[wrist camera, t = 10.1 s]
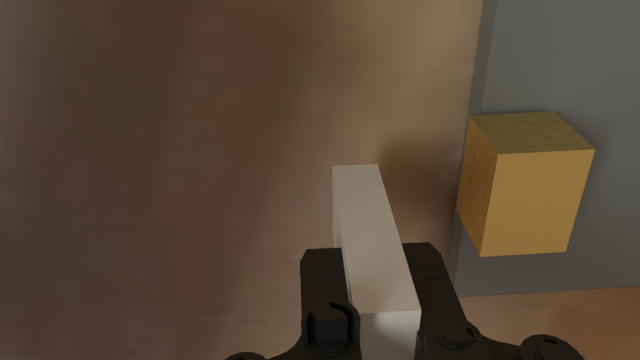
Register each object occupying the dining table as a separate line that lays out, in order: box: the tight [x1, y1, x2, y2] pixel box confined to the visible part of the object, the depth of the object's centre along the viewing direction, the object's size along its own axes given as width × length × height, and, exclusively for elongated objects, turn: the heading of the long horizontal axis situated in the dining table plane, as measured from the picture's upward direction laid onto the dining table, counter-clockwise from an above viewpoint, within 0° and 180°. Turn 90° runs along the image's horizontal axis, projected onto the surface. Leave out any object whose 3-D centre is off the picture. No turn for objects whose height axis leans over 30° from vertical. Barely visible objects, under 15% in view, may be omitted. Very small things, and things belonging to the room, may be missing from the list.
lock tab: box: [456, 111, 595, 257], centre depth 18 cm, size 3×4×3 cm
